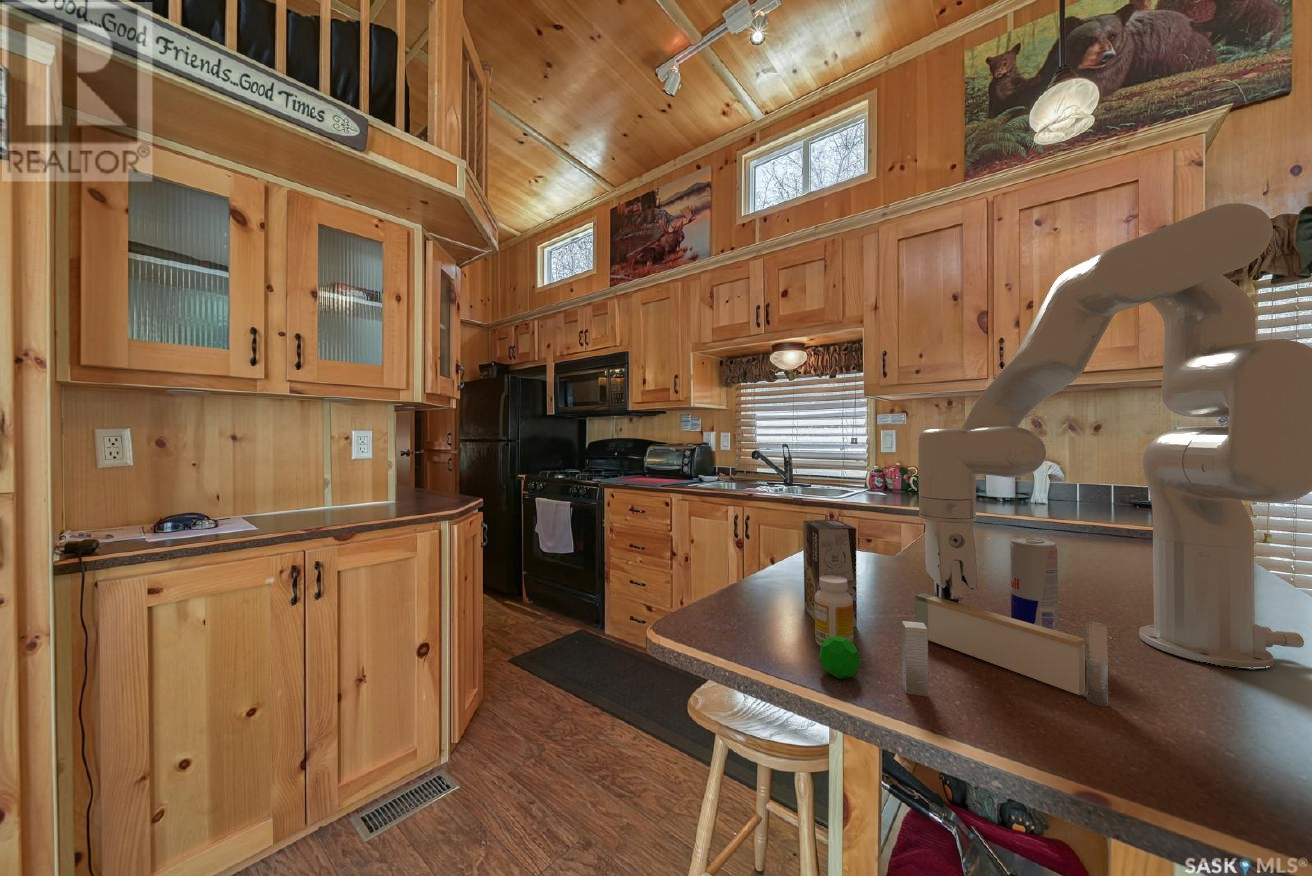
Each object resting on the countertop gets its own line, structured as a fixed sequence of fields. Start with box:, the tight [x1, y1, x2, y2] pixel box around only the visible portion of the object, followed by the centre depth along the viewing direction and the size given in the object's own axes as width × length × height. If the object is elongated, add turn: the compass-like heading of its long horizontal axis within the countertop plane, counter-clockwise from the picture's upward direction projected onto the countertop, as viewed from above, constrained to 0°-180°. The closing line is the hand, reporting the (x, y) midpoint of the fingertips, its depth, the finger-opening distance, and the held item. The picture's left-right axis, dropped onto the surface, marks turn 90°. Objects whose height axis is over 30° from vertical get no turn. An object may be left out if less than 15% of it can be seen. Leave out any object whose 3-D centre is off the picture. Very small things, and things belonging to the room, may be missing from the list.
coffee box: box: [802, 519, 858, 628], centre depth 83 cm, size 9×6×16 cm
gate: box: [914, 592, 1086, 696], centre depth 65 cm, size 20×2×6 cm, turn 30°
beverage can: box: [1009, 537, 1059, 631], centre depth 73 cm, size 6×6×15 cm
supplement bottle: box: [814, 575, 854, 647], centre depth 72 cm, size 5×5×10 cm
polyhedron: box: [818, 636, 861, 679], centre depth 63 cm, size 5×5×5 cm
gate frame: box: [901, 620, 1109, 707], centre depth 57 cm, size 22×2×9 cm, turn 81°
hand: (947, 628), depth 74 cm, fingers closed
